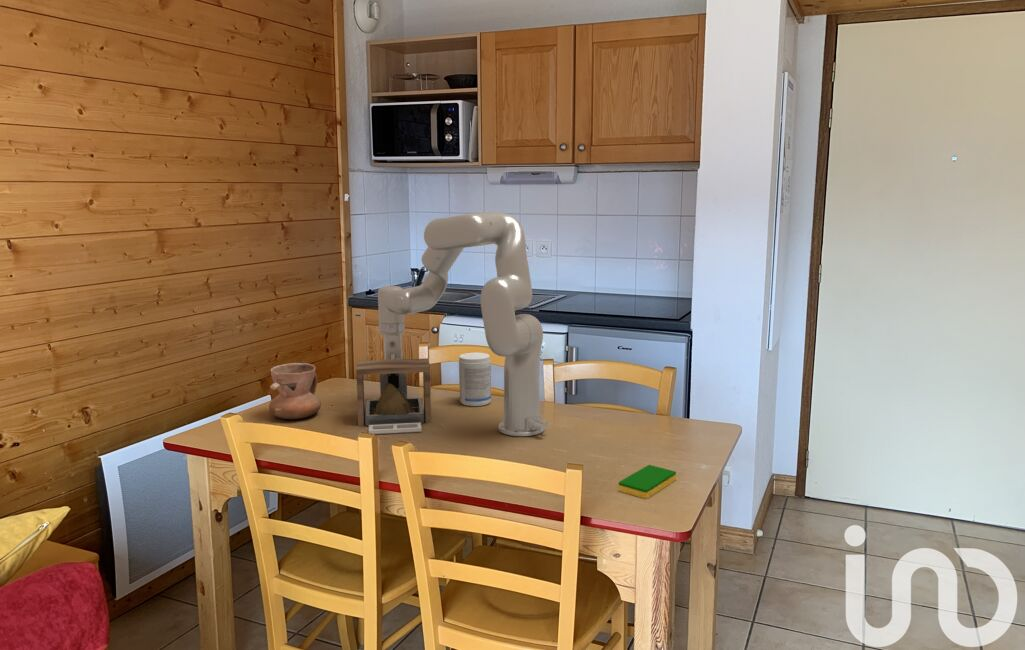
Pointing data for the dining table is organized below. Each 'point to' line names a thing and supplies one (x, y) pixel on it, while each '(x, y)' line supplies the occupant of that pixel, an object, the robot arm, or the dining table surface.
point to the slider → (394, 417)
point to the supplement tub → (475, 379)
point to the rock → (392, 402)
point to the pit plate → (395, 428)
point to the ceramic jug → (294, 391)
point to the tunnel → (389, 368)
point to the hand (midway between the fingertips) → (393, 387)
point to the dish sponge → (647, 481)
